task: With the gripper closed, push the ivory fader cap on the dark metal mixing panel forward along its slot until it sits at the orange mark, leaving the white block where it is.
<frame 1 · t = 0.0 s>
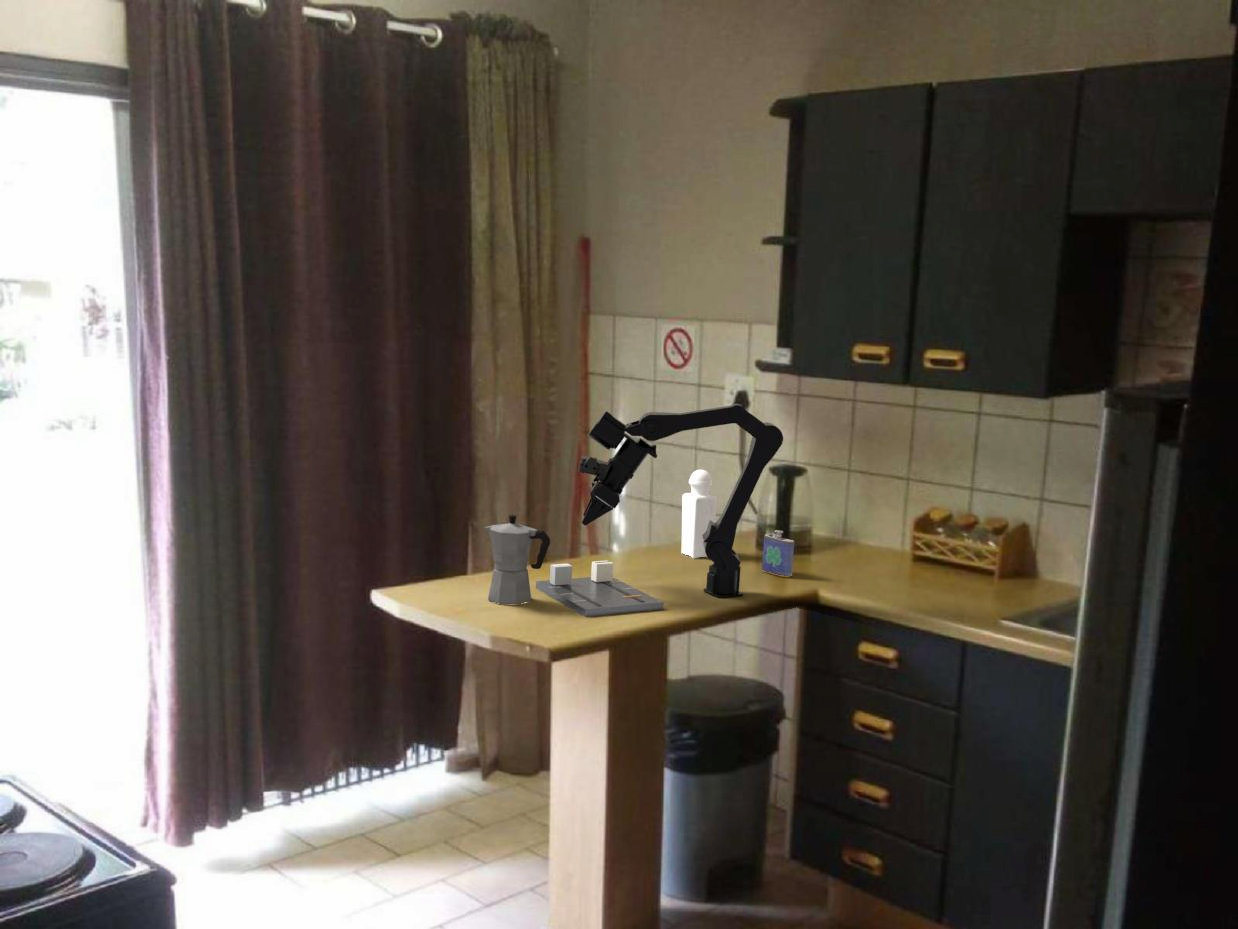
hand: (584, 520, 250), 15 cm above the worktop, tool tilted 35°, fingers open, 9 cm apart
flask: (775, 575, 273), on the worktop
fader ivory: (602, 571, 252), point 4 cm above the worktop, slide at 0.0 cm
coffeepot: (514, 601, 238), on the worktop
panel: (597, 598, 243), on the worktop
block white: (561, 574, 247), point 4 cm above the worktop, slide at 0.0 cm
white square decanter: (696, 556, 289), on the worktop
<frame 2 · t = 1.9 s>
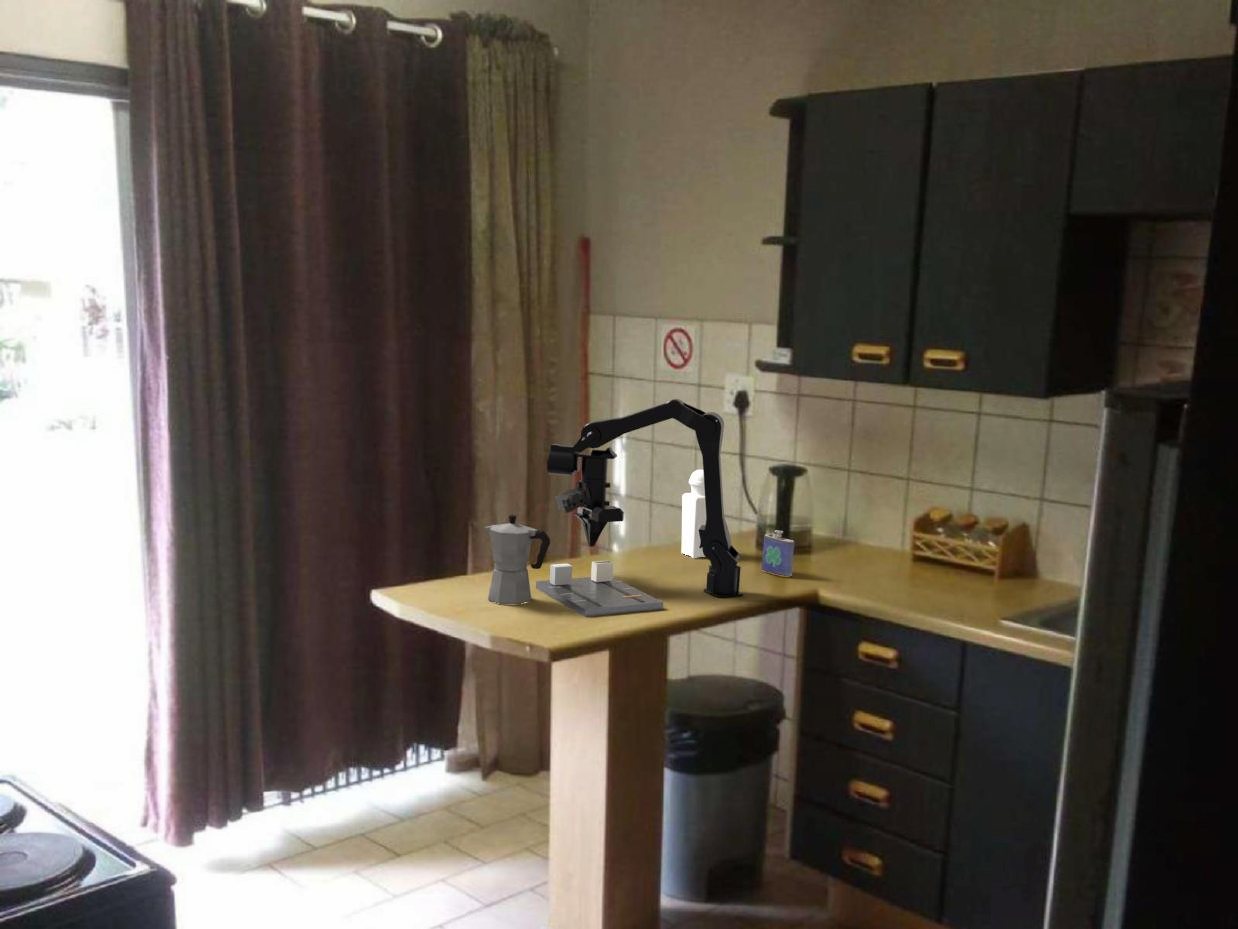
hand: (591, 546, 256), 8 cm above the worktop, tool pointing down, fingers closed
nothing on the worktop moved.
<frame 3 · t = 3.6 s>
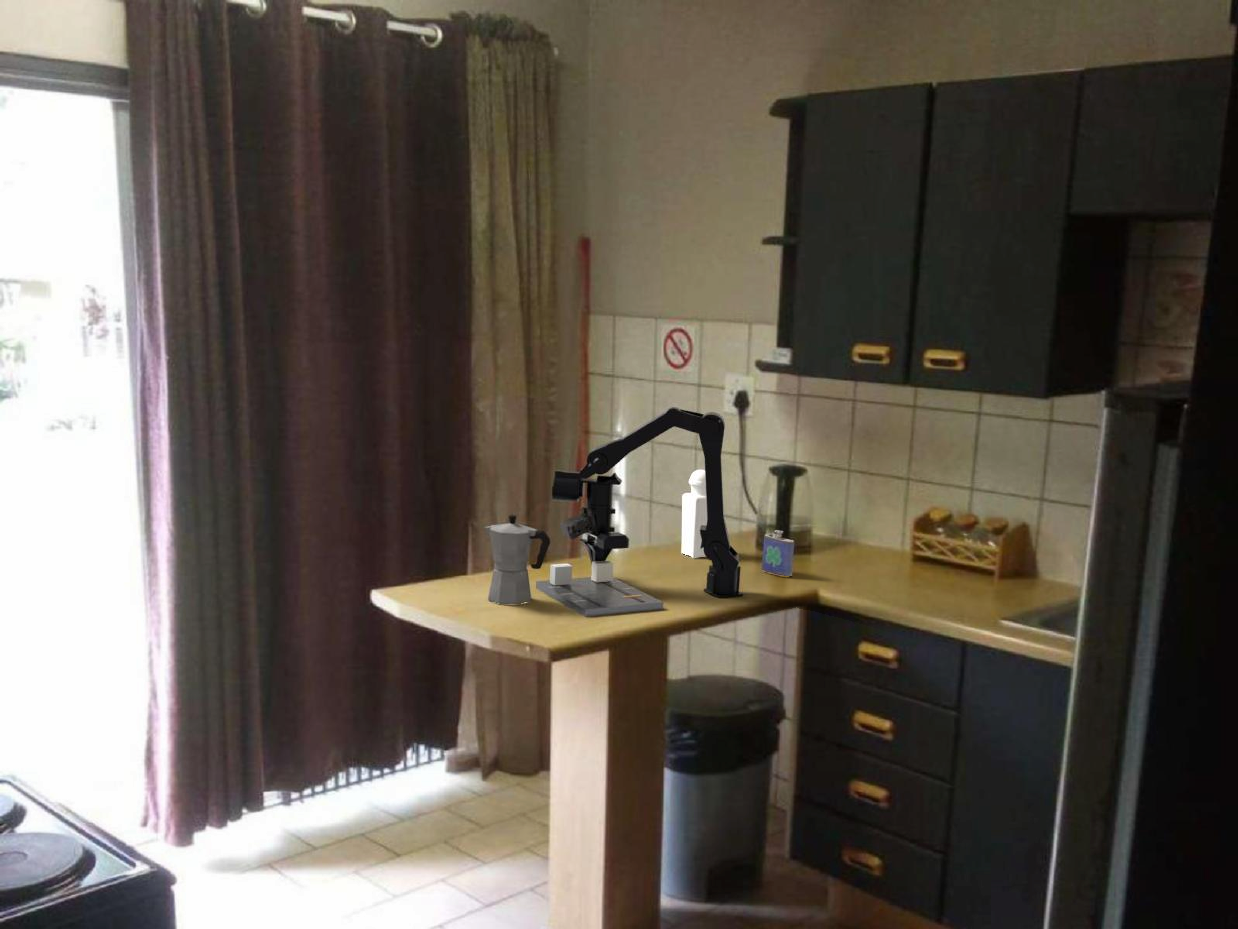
hand: (596, 572, 254), 3 cm above the worktop, tool pointing down, fingers closed
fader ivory: (602, 571, 251), point 4 cm above the worktop, slide at 0.1 cm, touching gripper
everything else where it was.
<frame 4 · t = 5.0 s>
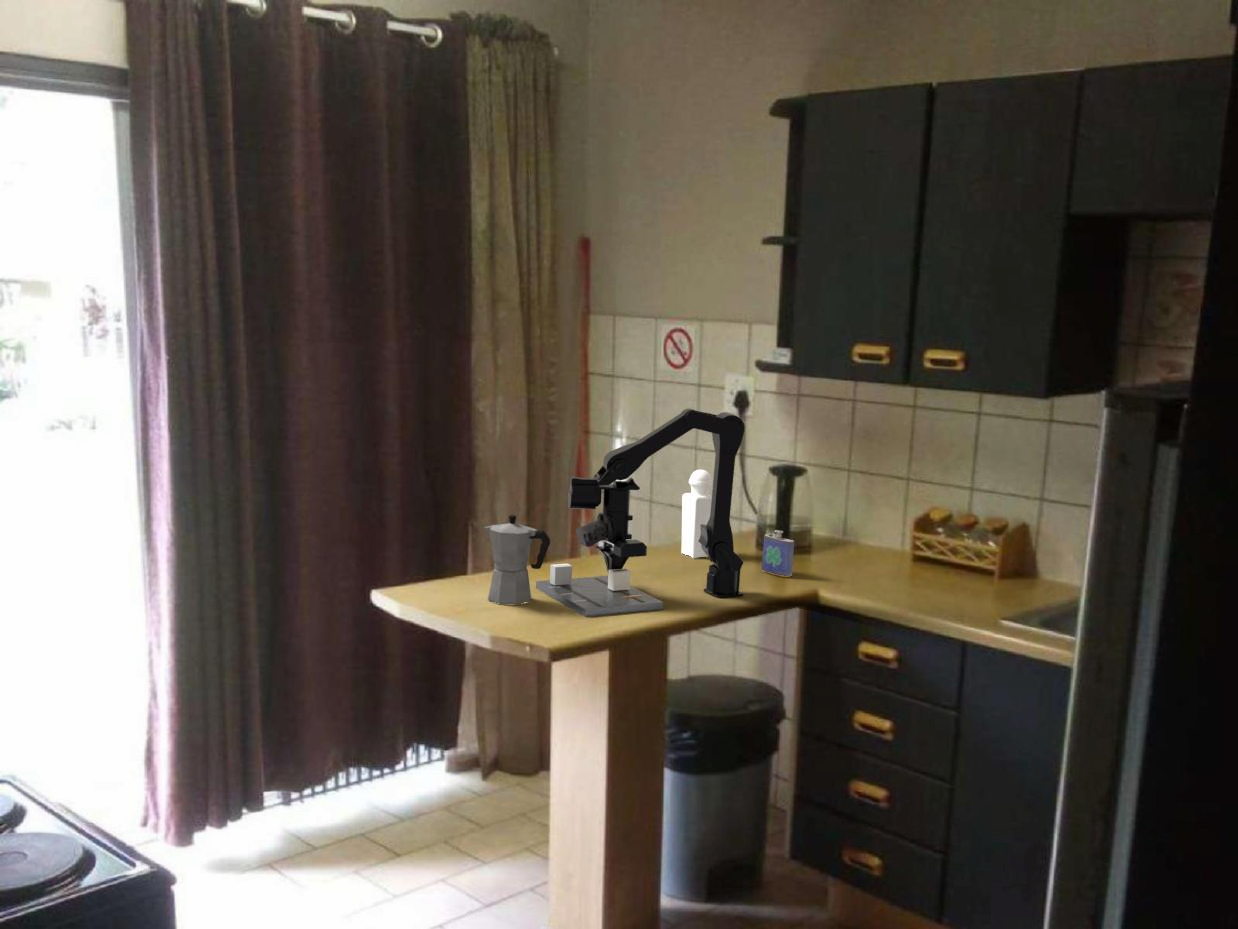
hand: (612, 580, 247), 3 cm above the worktop, tool pointing down, fingers closed
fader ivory: (619, 579, 245), point 4 cm above the worktop, slide at 7.9 cm, touching gripper
everything else where it was.
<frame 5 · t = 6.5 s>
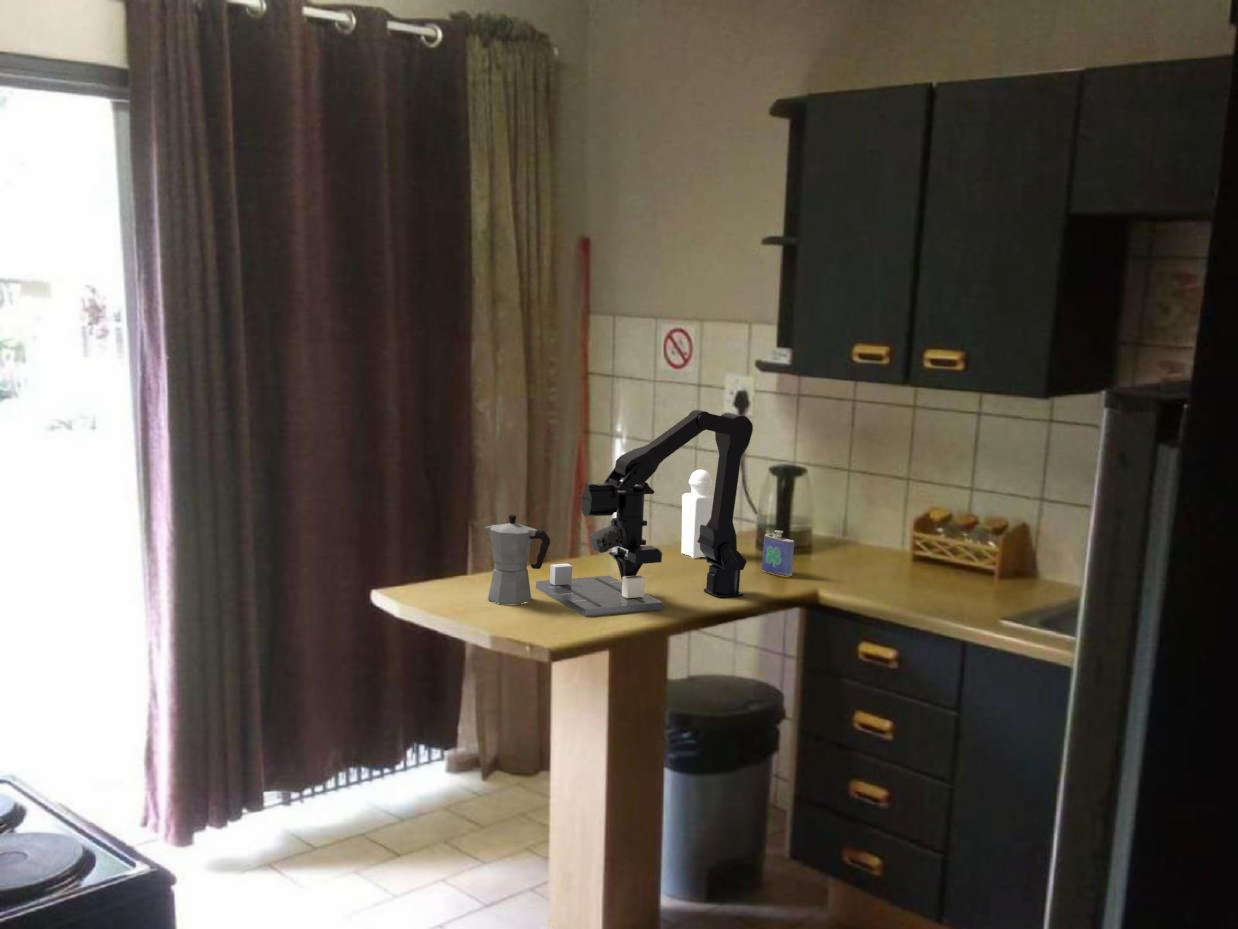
hand: (626, 587, 242), 3 cm above the worktop, tool pointing down, fingers closed
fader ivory: (633, 586, 239), point 4 cm above the worktop, slide at 14.2 cm, touching gripper
everything else where it was.
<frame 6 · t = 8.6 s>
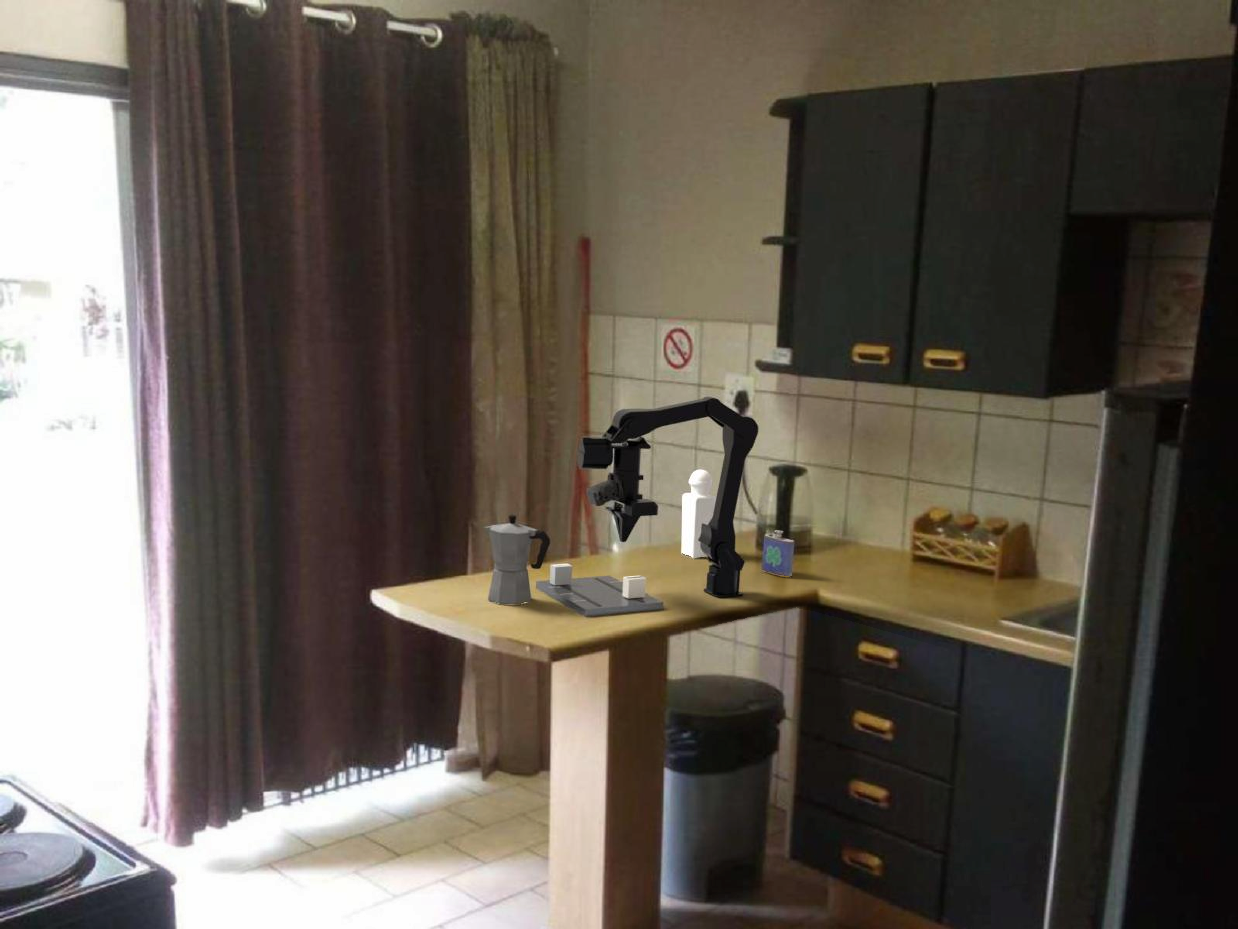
hand: (623, 541, 244), 12 cm above the worktop, tool pointing down, fingers closed
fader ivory: (634, 586, 239), point 4 cm above the worktop, slide at 14.5 cm
everything else where it was.
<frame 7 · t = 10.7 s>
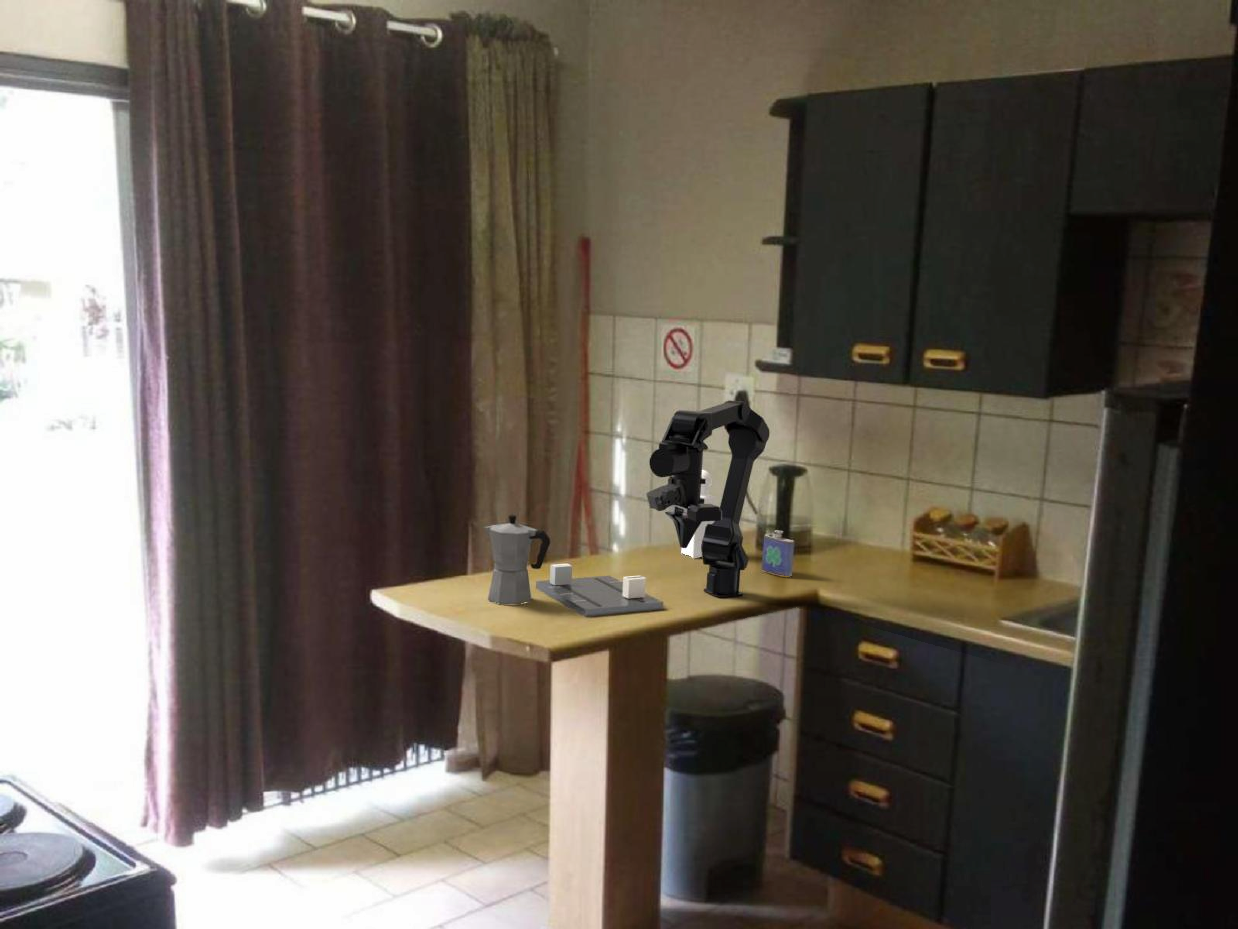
hand: (683, 547, 236), 13 cm above the worktop, tool pointing down, fingers closed
nothing on the worktop moved.
at the end: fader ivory slide at 14.5 cm; block white slide at 0.0 cm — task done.
